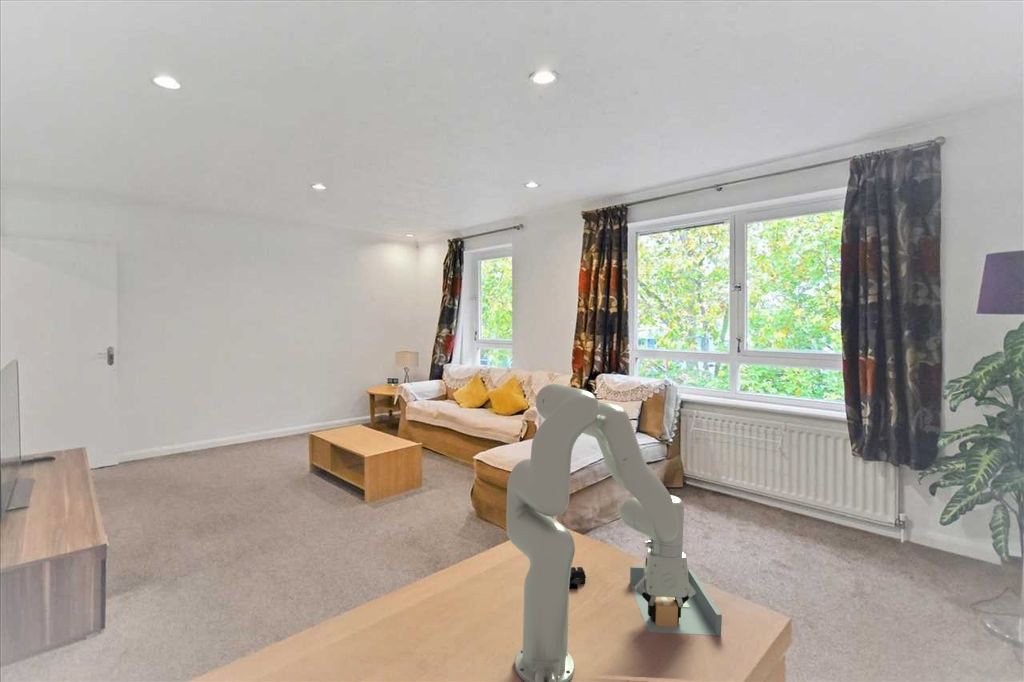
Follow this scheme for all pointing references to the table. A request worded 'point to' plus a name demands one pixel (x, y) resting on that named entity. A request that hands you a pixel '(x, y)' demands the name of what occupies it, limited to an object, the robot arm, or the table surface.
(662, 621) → the cube
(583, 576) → the black hollow angular block
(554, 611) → the robot arm
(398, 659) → the table surface
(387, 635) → the table surface
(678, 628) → the grey blue tray
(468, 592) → the table surface
